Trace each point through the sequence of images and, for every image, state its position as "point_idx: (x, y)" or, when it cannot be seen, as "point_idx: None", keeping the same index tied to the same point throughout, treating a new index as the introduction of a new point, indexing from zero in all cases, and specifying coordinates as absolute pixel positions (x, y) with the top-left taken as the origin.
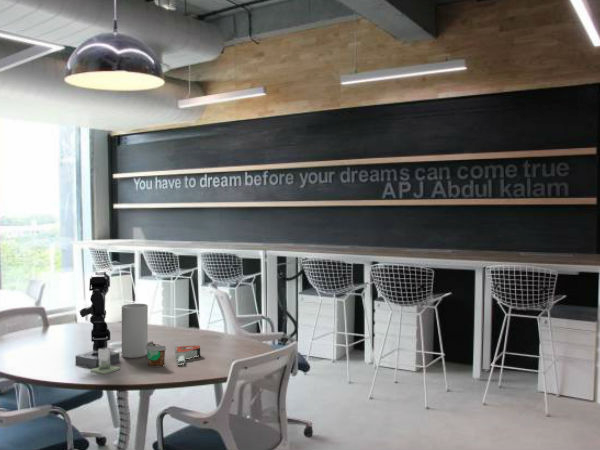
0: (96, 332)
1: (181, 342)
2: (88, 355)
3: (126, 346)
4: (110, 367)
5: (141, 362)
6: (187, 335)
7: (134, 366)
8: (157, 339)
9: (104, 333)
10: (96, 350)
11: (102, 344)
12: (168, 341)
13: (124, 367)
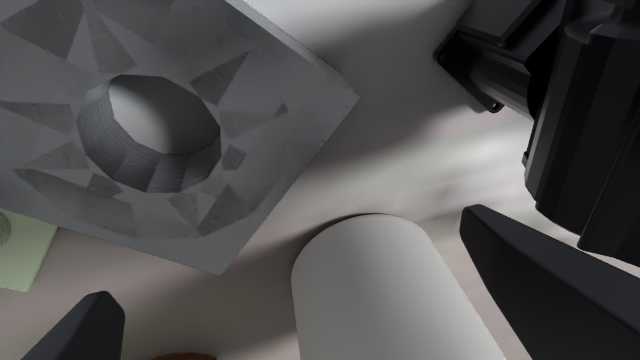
0: (36, 355)
1: (523, 347)
2: (76, 57)
3: (309, 309)
4: (2, 248)
5: (206, 324)
6: None
7: None
8: (630, 269)
9: (546, 191)
10: (309, 86)
11: (504, 94)
12: None
13: (84, 290)
